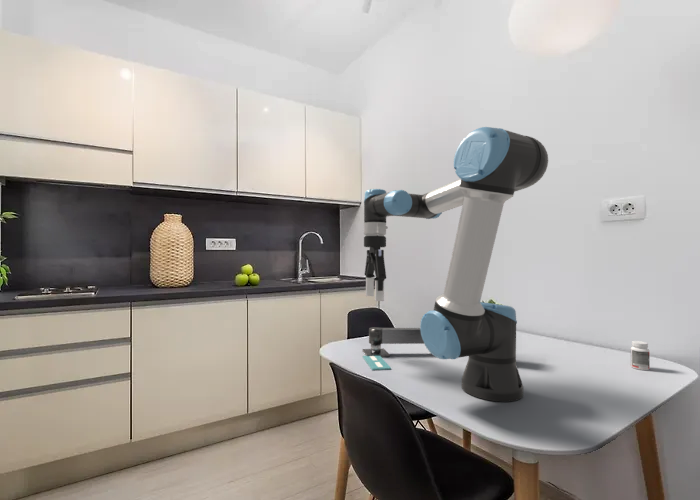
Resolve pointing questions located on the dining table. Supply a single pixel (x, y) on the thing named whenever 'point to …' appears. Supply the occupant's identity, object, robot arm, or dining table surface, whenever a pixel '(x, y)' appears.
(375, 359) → the label
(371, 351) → the grey square stand
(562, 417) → the dining table surface
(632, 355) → the pill bottle
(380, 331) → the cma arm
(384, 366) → the label
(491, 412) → the dining table surface
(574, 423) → the dining table surface
